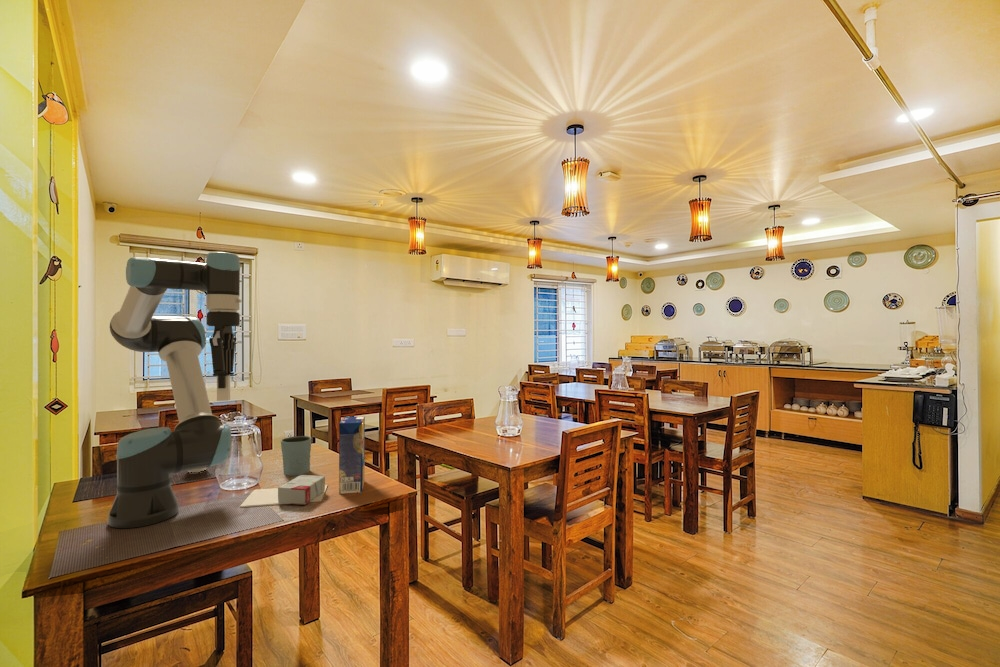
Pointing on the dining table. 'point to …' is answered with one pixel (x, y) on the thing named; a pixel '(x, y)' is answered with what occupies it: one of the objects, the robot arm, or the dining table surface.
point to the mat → (269, 497)
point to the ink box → (301, 489)
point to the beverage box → (351, 454)
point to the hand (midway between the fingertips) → (223, 400)
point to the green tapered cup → (296, 455)
